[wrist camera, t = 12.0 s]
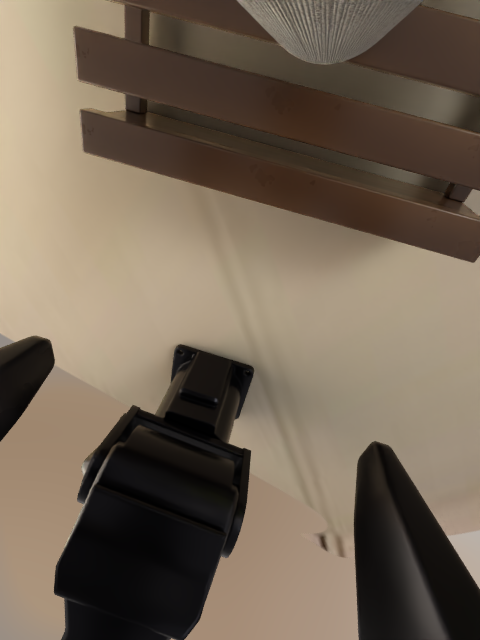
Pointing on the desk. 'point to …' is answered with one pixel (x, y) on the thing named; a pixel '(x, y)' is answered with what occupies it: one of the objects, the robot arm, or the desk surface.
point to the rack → (295, 124)
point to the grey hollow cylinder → (328, 25)
